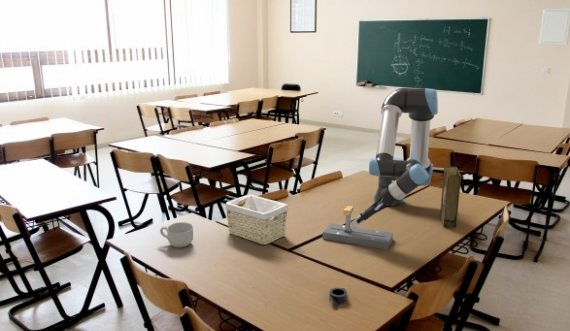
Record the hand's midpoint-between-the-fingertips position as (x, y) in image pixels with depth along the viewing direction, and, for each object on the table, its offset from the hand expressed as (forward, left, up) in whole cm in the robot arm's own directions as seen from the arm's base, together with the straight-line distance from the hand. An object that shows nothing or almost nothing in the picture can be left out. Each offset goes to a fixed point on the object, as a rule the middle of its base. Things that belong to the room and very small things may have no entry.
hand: (352, 225), depth 204 cm
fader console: (+1, +2, -6) cm, 6 cm away
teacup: (-14, -73, -6) cm, 75 cm away
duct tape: (+45, -24, -7) cm, 52 cm away
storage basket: (-15, -39, -6) cm, 42 cm away
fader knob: (-1, -2, -3) cm, 3 cm away
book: (-6, +51, -6) cm, 52 cm away
